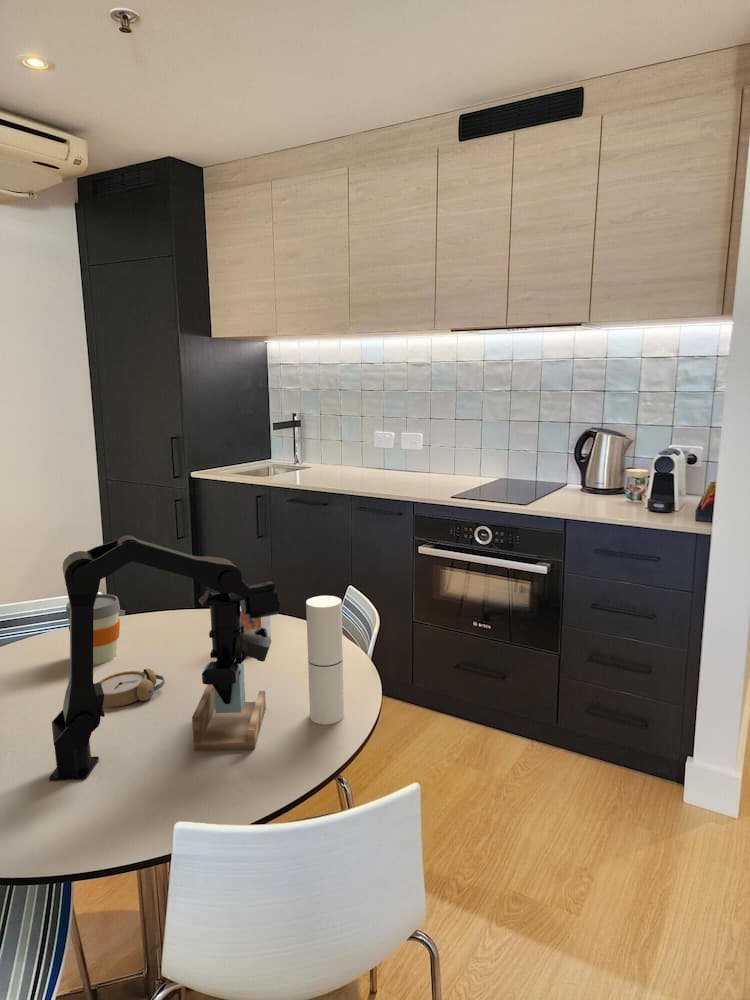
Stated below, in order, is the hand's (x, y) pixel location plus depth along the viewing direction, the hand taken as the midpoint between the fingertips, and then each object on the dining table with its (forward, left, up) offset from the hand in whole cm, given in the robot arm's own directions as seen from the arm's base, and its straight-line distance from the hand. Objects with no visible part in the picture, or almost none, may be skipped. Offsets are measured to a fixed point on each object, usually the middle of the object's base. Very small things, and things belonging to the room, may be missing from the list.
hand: (230, 697), depth 130 cm
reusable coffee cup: (+37, +41, -7) cm, 56 cm away
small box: (+42, +2, -7) cm, 43 cm away
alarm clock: (+16, +26, -7) cm, 31 cm away
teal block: (0, 0, -2) cm, 2 cm away
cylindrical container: (+4, -19, -7) cm, 21 cm away
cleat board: (0, 0, -7) cm, 7 cm away
